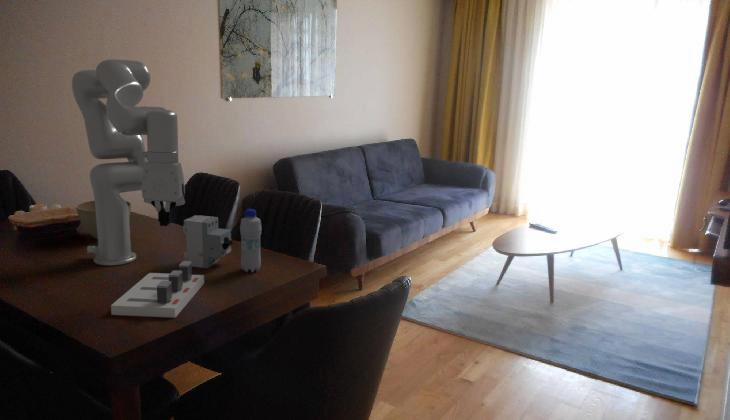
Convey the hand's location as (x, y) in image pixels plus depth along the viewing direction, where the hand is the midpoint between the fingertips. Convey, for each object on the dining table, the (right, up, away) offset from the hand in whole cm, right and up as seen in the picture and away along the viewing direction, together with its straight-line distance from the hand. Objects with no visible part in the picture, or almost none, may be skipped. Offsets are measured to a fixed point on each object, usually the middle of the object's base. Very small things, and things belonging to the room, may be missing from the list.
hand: (165, 224), depth 144 cm
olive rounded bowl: (-42, -6, +54) cm, 68 cm away
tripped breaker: (+3, -17, +1) cm, 18 cm away
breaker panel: (-1, -20, +1) cm, 20 cm away
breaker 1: (+3, -19, -7) cm, 21 cm away
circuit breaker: (+4, -14, +29) cm, 33 cm away
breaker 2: (+3, -15, +8) cm, 18 cm away
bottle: (+18, -15, +26) cm, 35 cm away
